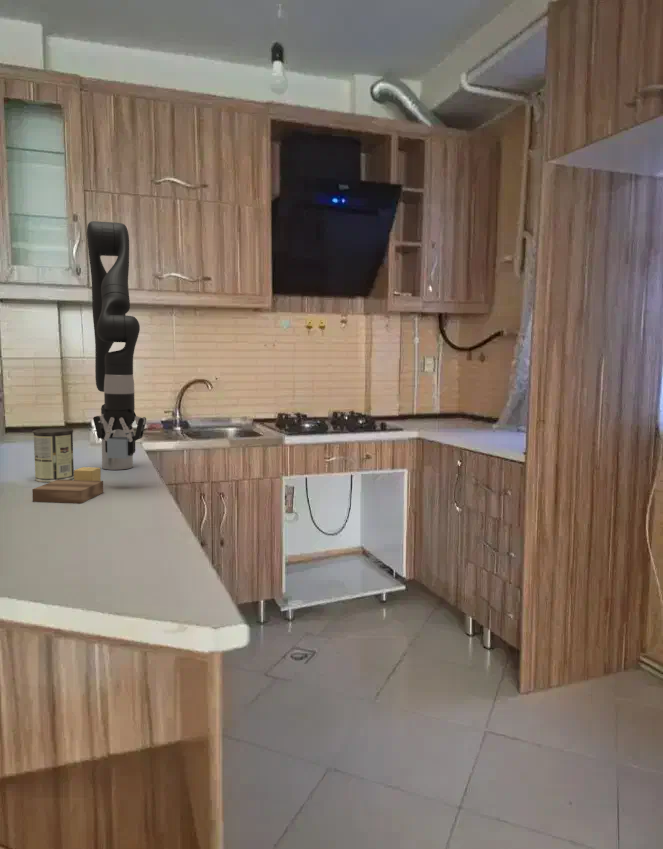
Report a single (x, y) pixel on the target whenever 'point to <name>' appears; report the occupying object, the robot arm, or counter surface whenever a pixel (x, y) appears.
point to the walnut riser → (67, 491)
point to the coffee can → (53, 454)
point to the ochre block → (87, 474)
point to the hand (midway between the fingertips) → (120, 454)
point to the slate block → (117, 447)
